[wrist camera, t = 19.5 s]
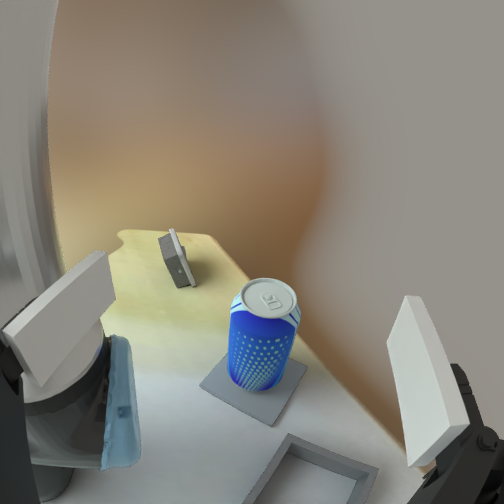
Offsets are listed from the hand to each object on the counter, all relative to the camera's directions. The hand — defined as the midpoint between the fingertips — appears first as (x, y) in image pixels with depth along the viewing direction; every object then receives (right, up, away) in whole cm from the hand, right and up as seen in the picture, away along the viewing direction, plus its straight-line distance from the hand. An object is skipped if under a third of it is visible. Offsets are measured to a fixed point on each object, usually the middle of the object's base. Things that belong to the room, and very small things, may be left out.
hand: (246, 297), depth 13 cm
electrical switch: (-15, -3, +48) cm, 50 cm away
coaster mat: (+1, -17, +30) cm, 34 cm away
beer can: (+1, -16, +30) cm, 34 cm away
